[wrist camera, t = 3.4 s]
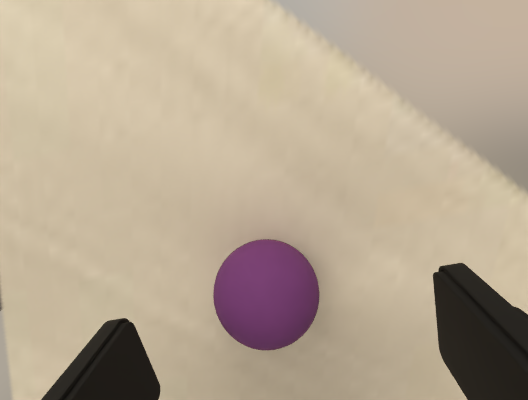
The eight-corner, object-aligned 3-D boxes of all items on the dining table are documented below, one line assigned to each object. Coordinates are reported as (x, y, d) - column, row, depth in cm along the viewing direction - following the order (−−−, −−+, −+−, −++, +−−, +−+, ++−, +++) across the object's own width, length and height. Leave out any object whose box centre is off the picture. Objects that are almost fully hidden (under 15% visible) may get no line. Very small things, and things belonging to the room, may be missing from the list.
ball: (205, 262, 13) (176, 323, 10) (270, 205, 13) (267, 248, 9) (265, 318, 14) (261, 396, 10) (331, 268, 13) (353, 333, 9)
